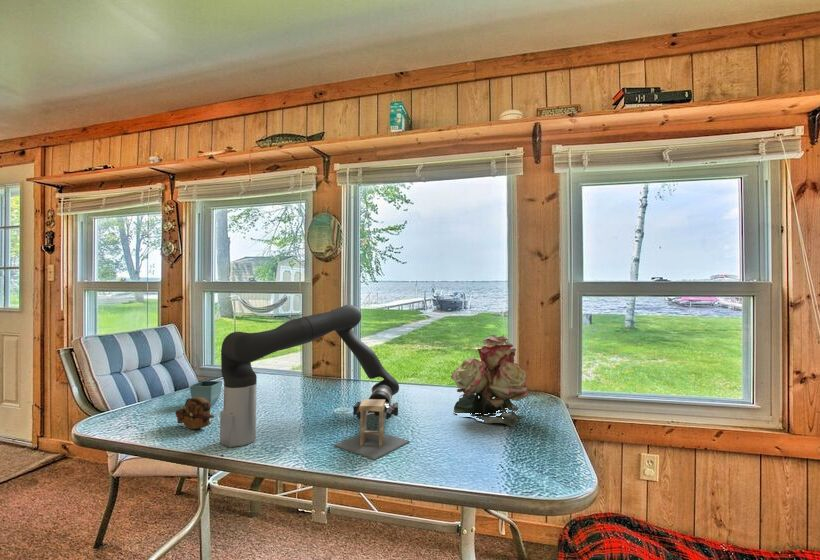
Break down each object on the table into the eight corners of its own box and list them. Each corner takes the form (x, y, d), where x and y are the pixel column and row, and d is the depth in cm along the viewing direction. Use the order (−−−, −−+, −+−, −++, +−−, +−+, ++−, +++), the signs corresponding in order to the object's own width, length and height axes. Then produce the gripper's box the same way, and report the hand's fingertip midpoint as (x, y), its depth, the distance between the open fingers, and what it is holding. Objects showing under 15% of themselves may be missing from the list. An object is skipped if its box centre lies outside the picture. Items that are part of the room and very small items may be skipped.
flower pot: (211, 409, 151) (211, 386, 152) (188, 408, 151) (189, 385, 152) (222, 402, 160) (222, 380, 160) (201, 402, 160) (201, 380, 161)
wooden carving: (169, 427, 131) (170, 397, 131) (182, 423, 135) (182, 394, 135) (206, 433, 125) (207, 402, 125) (218, 429, 129) (218, 398, 130)
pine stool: (359, 447, 113) (359, 405, 114) (363, 438, 121) (363, 399, 121) (382, 447, 113) (382, 406, 114) (385, 438, 120) (385, 399, 121)
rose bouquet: (443, 417, 143) (443, 335, 144) (484, 400, 165) (484, 330, 166) (507, 434, 126) (507, 341, 127) (543, 413, 148) (542, 334, 149)
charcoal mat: (374, 460, 106) (374, 458, 106) (334, 446, 115) (334, 444, 115) (409, 442, 118) (409, 440, 118) (370, 430, 128) (370, 429, 128)
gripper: (359, 389, 134) (350, 403, 118) (400, 390, 134) (396, 403, 118) (359, 411, 134) (350, 427, 118) (400, 412, 134) (396, 428, 117)
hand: (373, 415), depth 118 cm, fingers open, 8 cm apart
